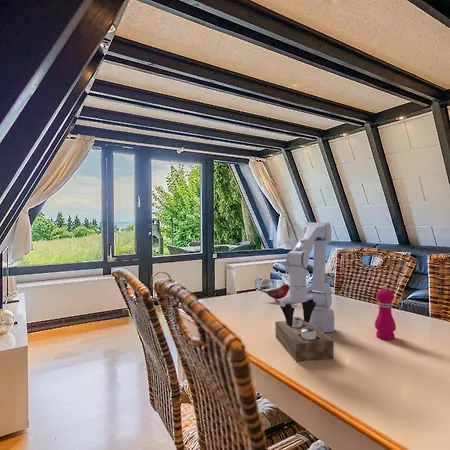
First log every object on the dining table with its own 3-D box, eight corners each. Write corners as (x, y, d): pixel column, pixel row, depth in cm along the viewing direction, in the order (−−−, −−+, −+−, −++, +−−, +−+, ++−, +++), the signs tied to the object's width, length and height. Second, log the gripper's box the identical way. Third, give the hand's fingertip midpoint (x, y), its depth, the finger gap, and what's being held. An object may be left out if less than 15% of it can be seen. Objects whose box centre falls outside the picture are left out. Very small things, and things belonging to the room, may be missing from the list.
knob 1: (299, 331, 127) (299, 316, 127) (305, 336, 122) (304, 320, 122) (287, 332, 126) (287, 317, 126) (292, 337, 121) (291, 321, 121)
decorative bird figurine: (291, 303, 174) (290, 284, 173) (258, 301, 179) (257, 283, 179) (291, 302, 176) (291, 283, 176) (259, 300, 182) (258, 282, 181)
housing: (307, 334, 130) (307, 319, 130) (333, 358, 108) (333, 340, 108) (275, 336, 128) (275, 321, 128) (296, 362, 106) (295, 343, 106)
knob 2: (312, 344, 115) (312, 326, 115) (318, 349, 110) (318, 331, 110) (299, 345, 114) (298, 327, 114) (304, 351, 109) (304, 333, 109)
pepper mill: (370, 335, 127) (370, 284, 126) (384, 332, 130) (384, 282, 129) (385, 342, 120) (385, 288, 120) (400, 339, 123) (400, 286, 122)
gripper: (306, 280, 121) (306, 317, 122) (273, 285, 114) (274, 323, 115) (319, 284, 115) (320, 322, 115) (286, 289, 108) (287, 330, 109)
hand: (298, 323), depth 115 cm, fingers open, 7 cm apart
